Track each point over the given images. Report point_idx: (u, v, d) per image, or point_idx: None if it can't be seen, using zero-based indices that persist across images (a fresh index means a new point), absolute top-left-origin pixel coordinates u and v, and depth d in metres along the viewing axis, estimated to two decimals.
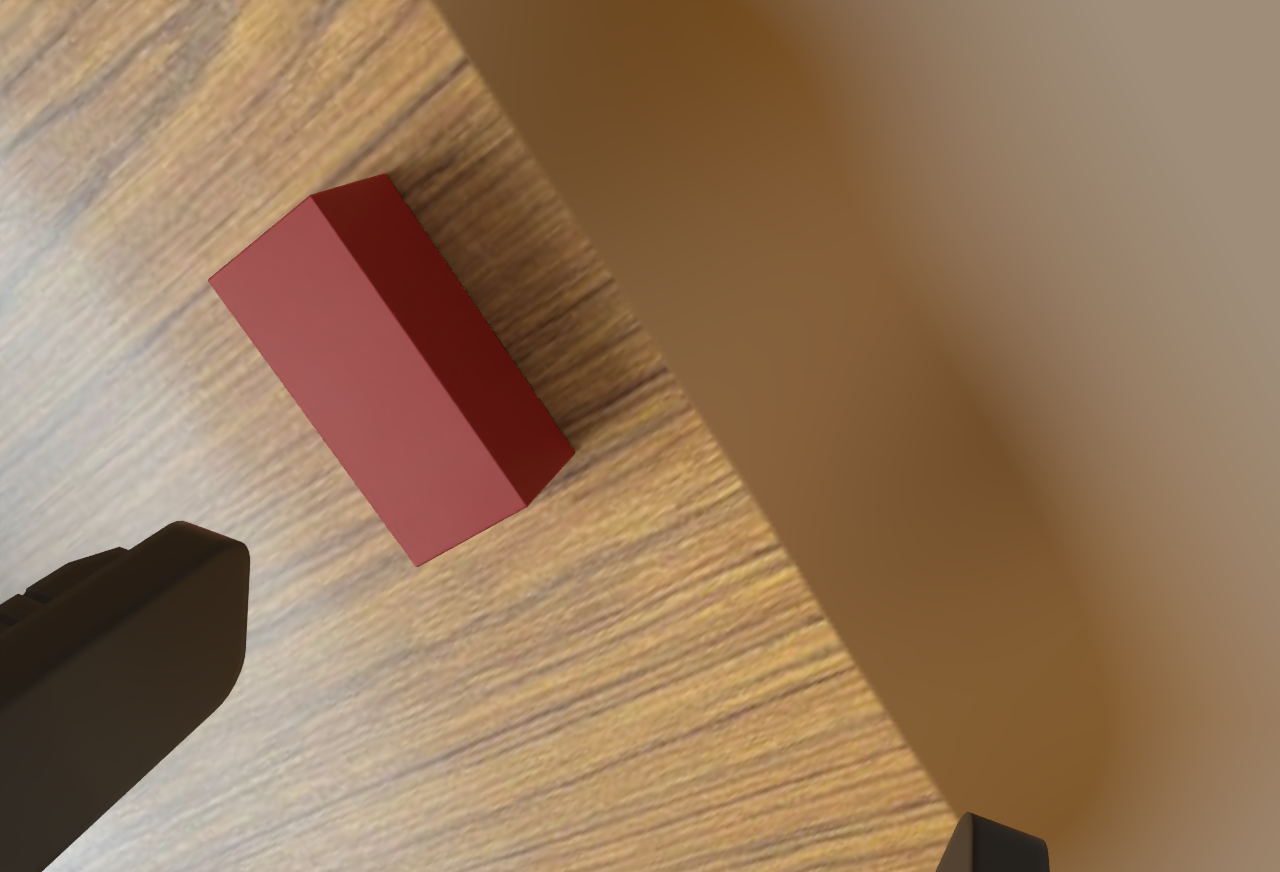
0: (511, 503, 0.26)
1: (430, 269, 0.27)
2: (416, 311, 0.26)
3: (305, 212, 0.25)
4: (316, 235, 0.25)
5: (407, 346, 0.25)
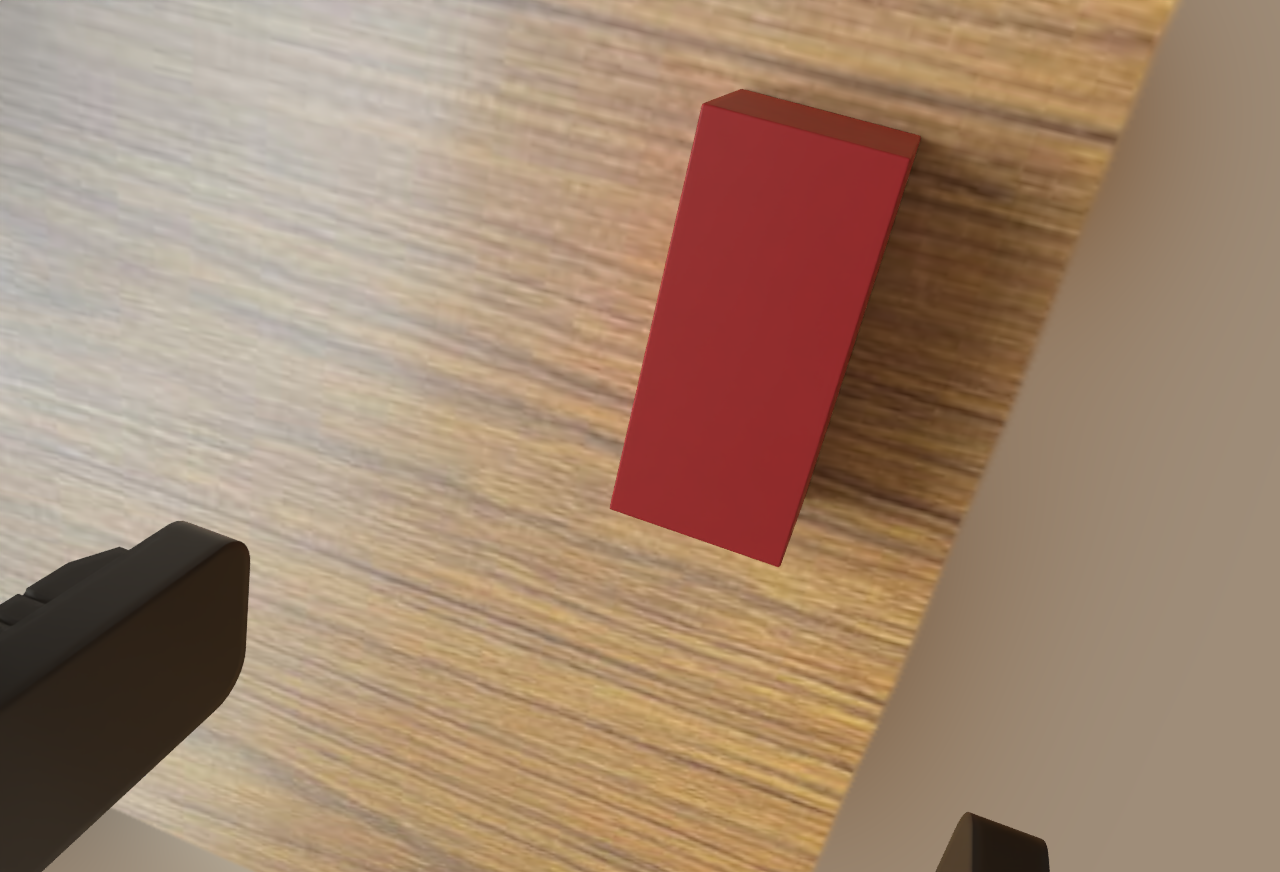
0: (766, 552, 0.23)
1: (877, 270, 0.22)
2: (858, 325, 0.21)
3: (885, 166, 0.19)
4: (869, 195, 0.19)
5: (834, 362, 0.21)
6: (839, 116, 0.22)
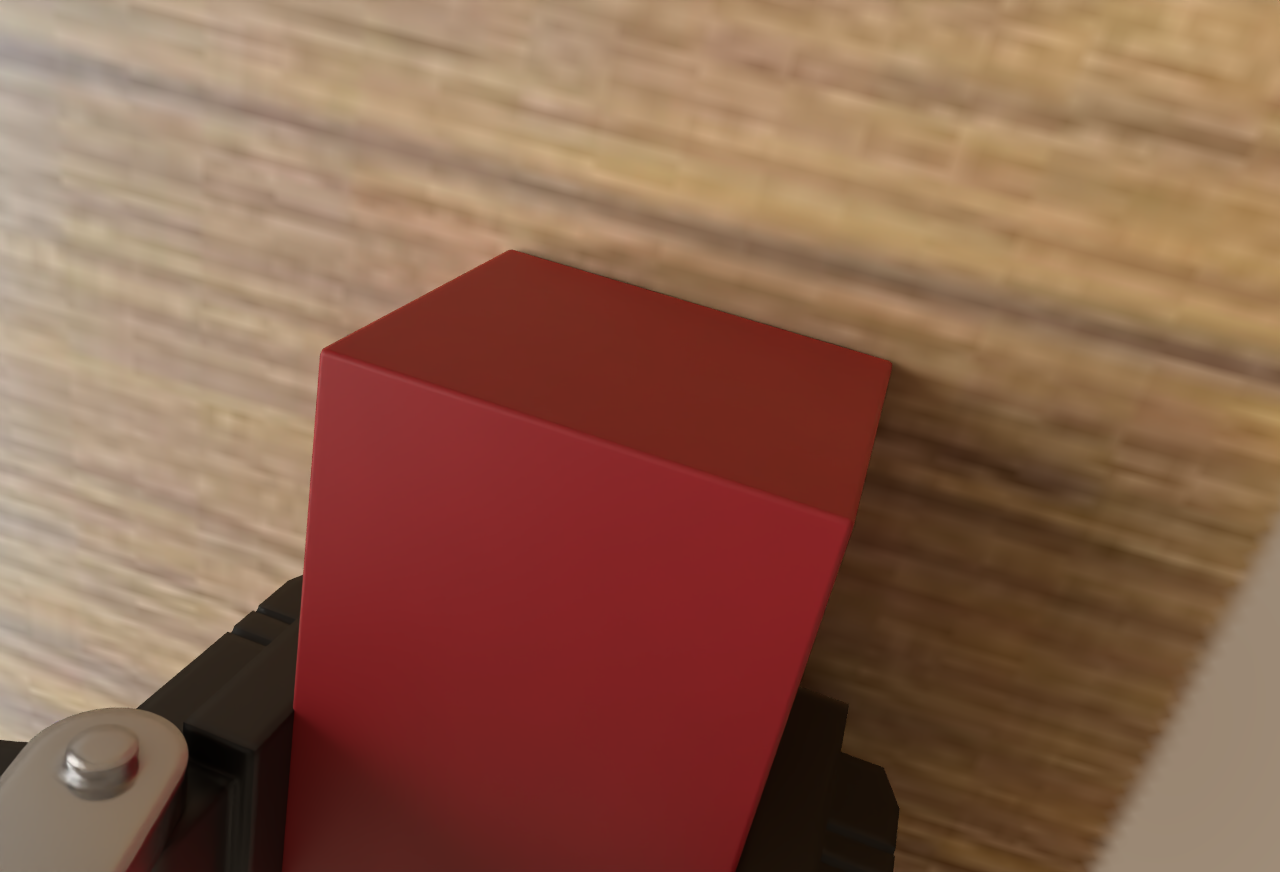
0: None
1: None
2: None
3: (785, 534, 0.07)
4: (747, 597, 0.07)
5: None
6: (712, 318, 0.10)
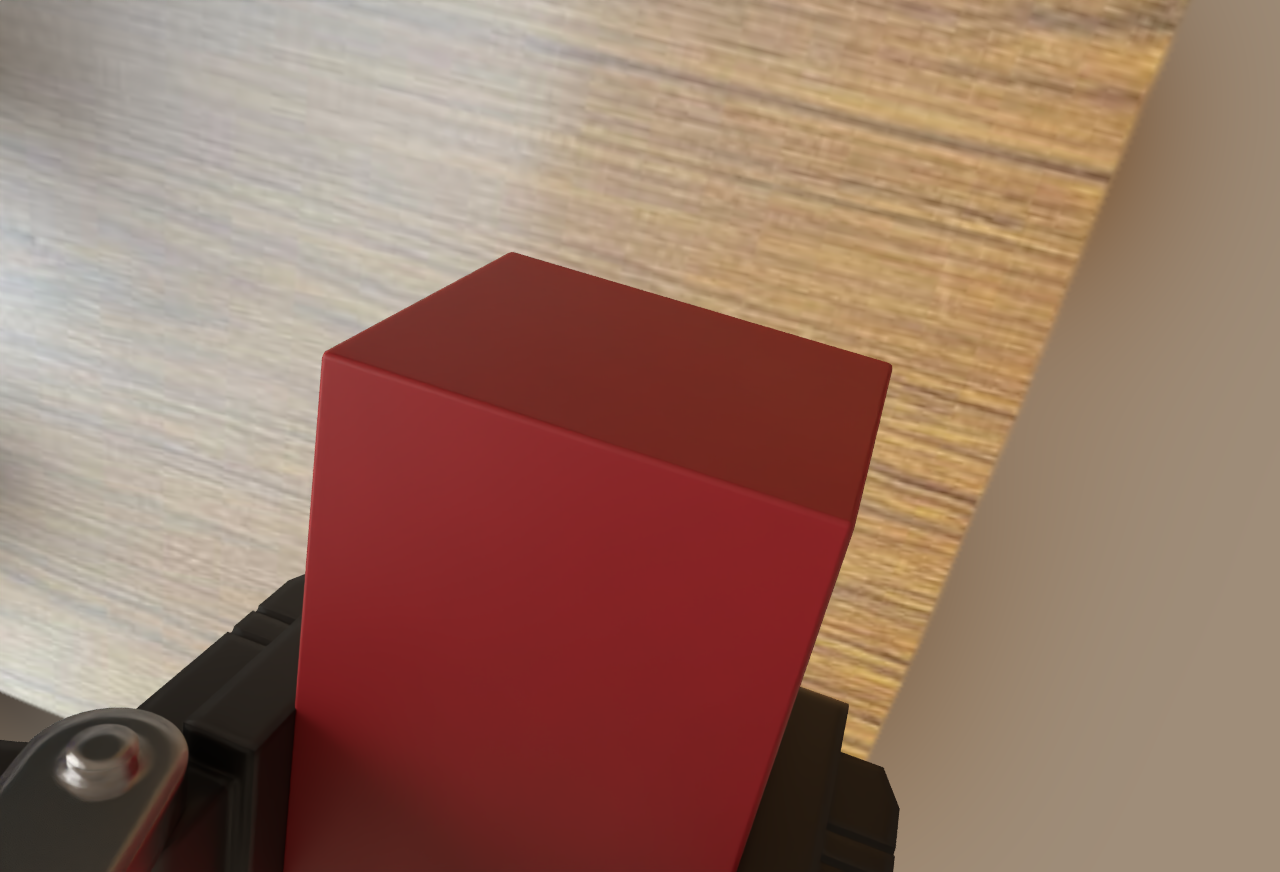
0: None
1: None
2: None
3: (786, 536, 0.07)
4: (746, 599, 0.07)
5: None
6: (712, 320, 0.10)
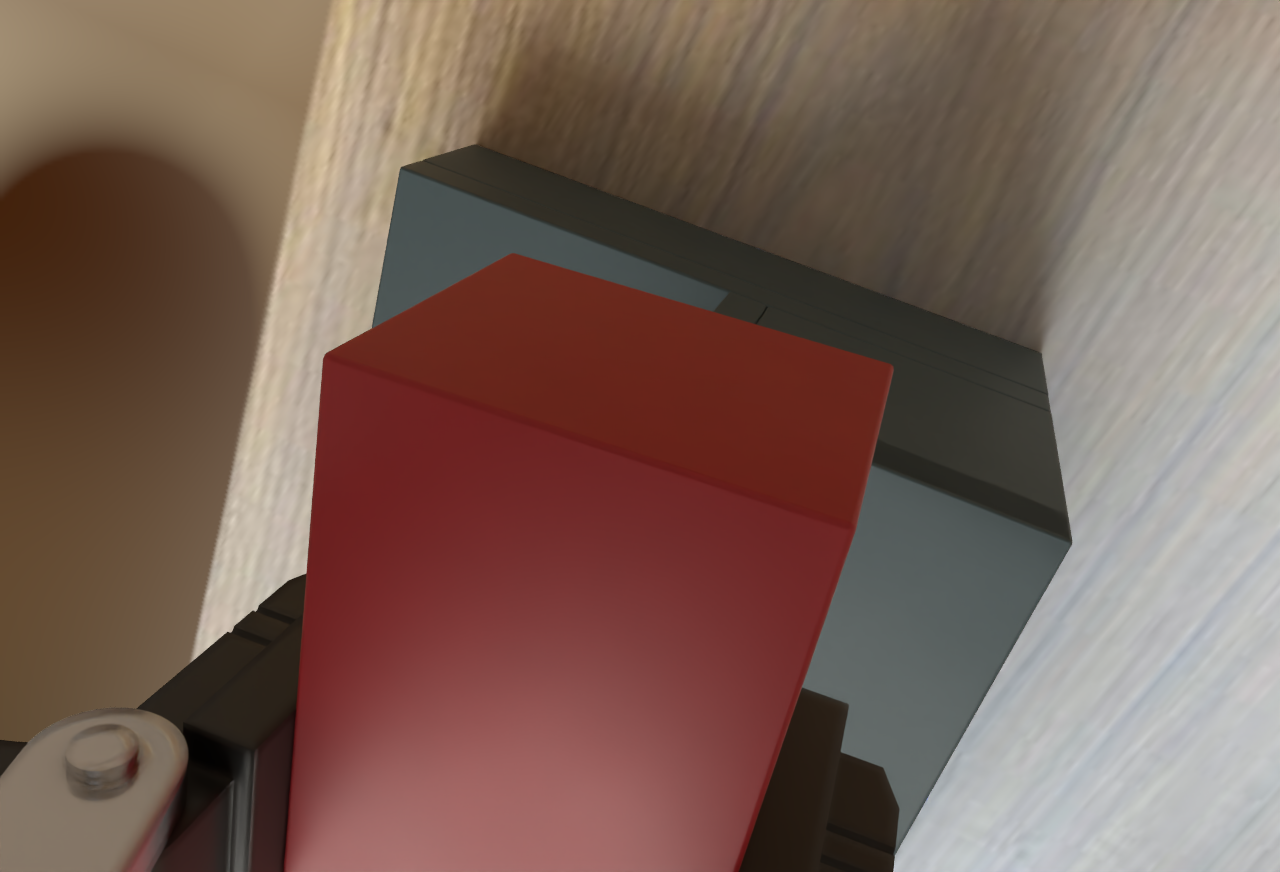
0: None
1: None
2: None
3: (787, 538, 0.07)
4: (748, 601, 0.07)
5: None
6: (713, 322, 0.10)
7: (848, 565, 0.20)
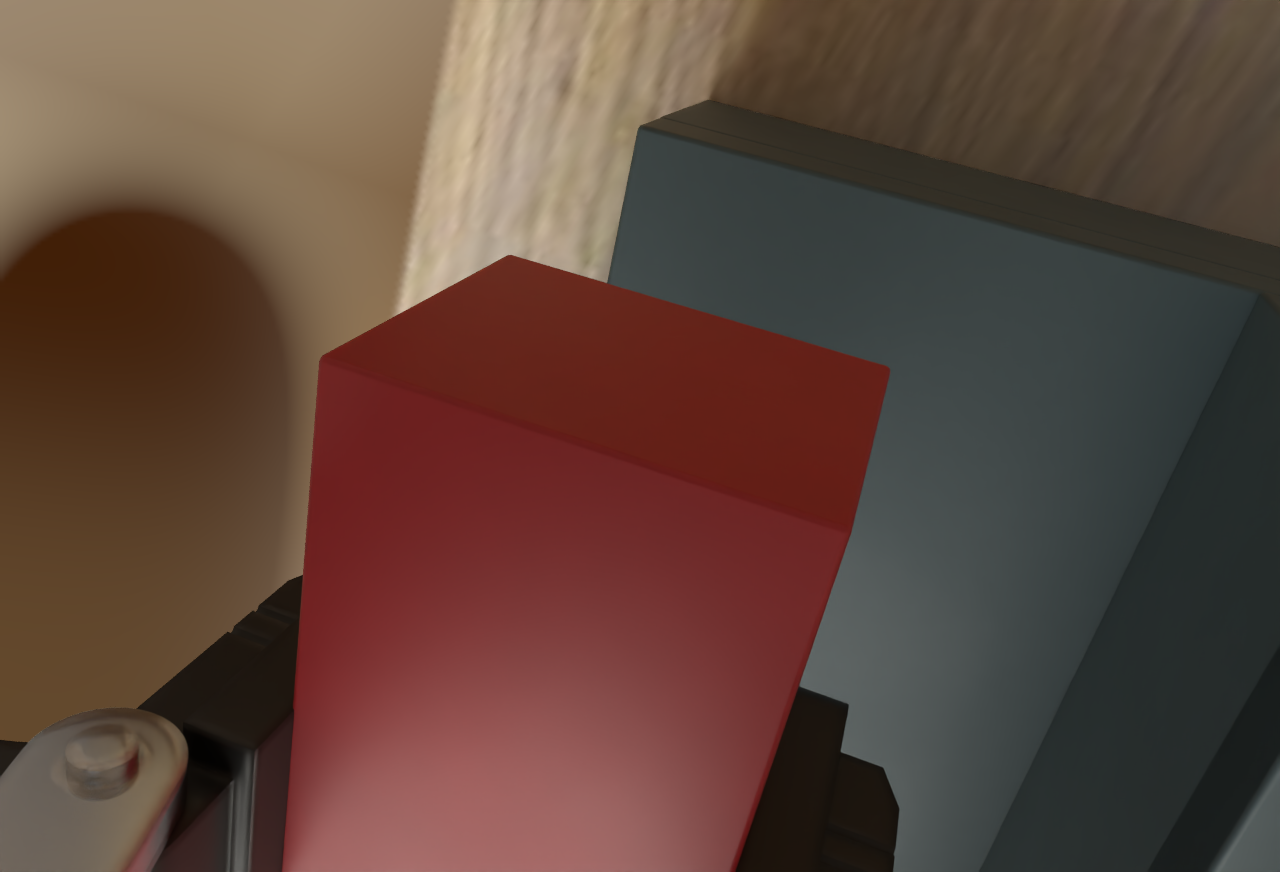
0: None
1: None
2: None
3: (783, 541, 0.07)
4: (744, 604, 0.07)
5: None
6: (710, 324, 0.10)
7: None
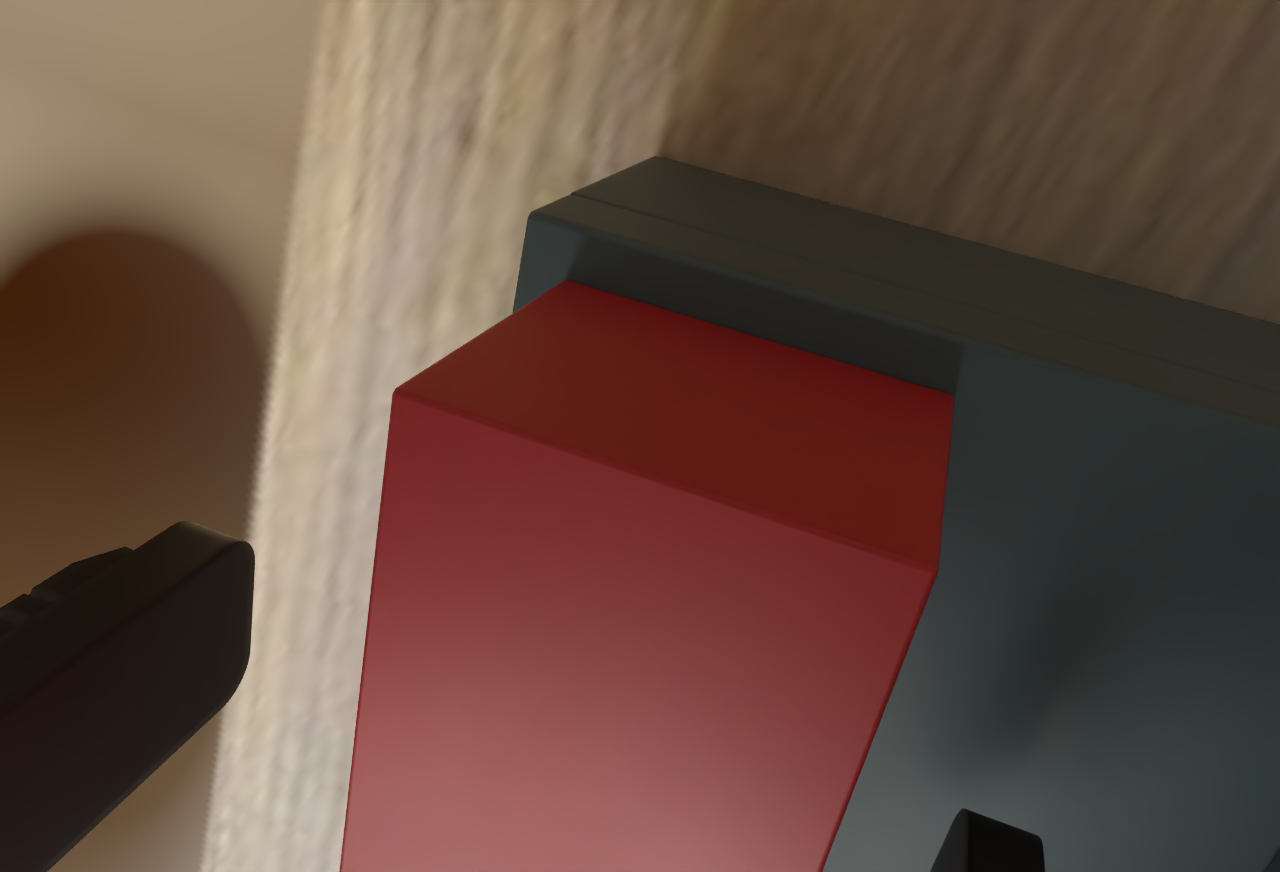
0: None
1: None
2: None
3: (867, 580, 0.07)
4: (824, 643, 0.07)
5: None
6: (771, 351, 0.10)
7: None
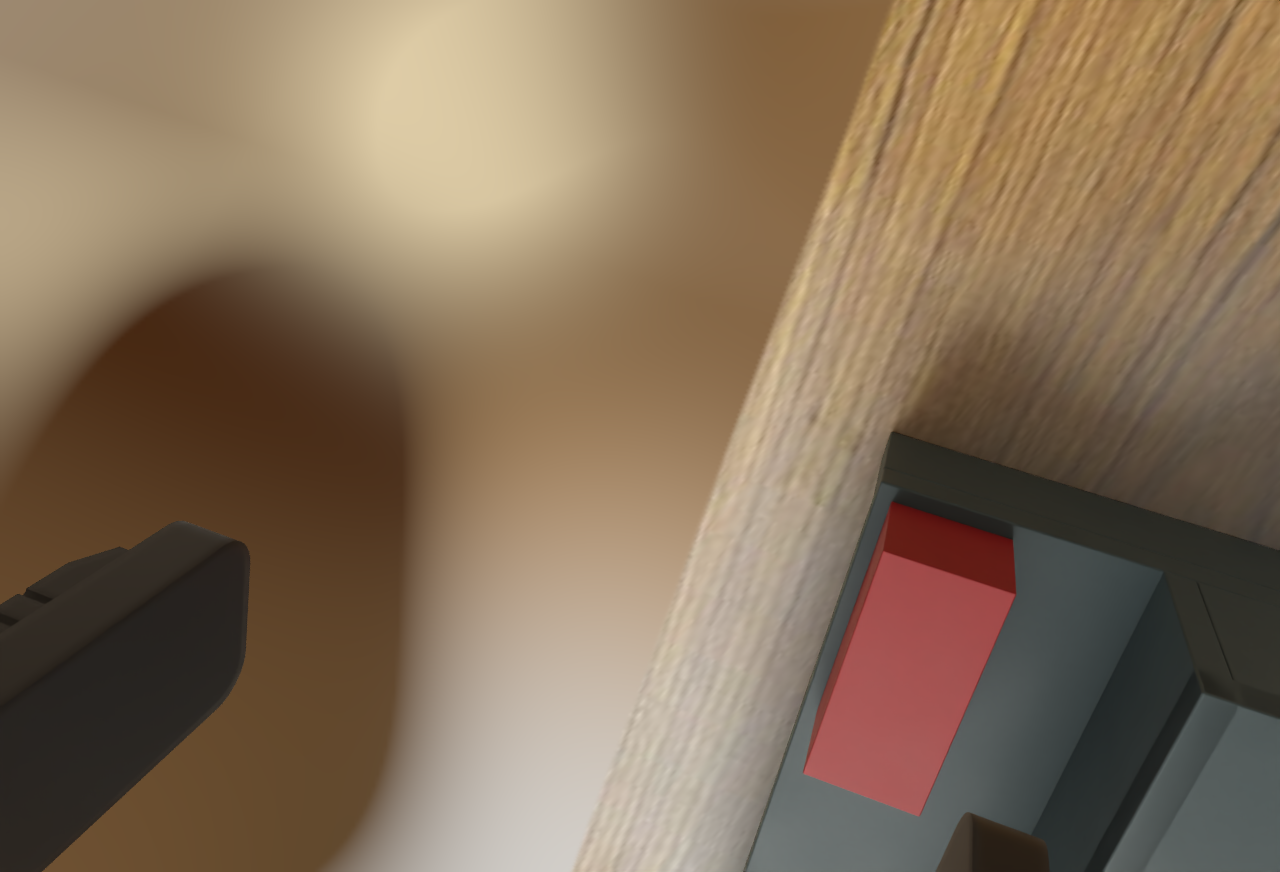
0: (911, 807, 0.34)
1: None
2: None
3: (1000, 596, 0.31)
4: (988, 610, 0.31)
5: (962, 700, 0.32)
6: (959, 526, 0.34)
7: None
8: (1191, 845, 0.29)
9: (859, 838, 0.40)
